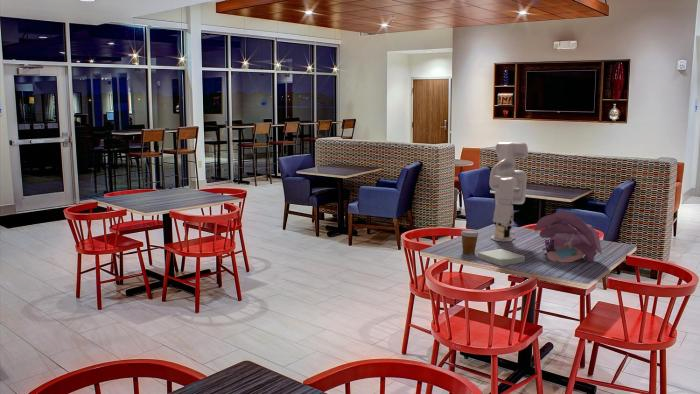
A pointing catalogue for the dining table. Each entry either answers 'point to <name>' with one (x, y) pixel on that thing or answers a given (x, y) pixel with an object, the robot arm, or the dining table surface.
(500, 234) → the maple block
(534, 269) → the dining table surface
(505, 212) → the robot arm
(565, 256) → the purple clam shell
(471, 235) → the disposable coffee cup
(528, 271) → the dining table surface
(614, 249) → the dining table surface
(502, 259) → the sage stand
